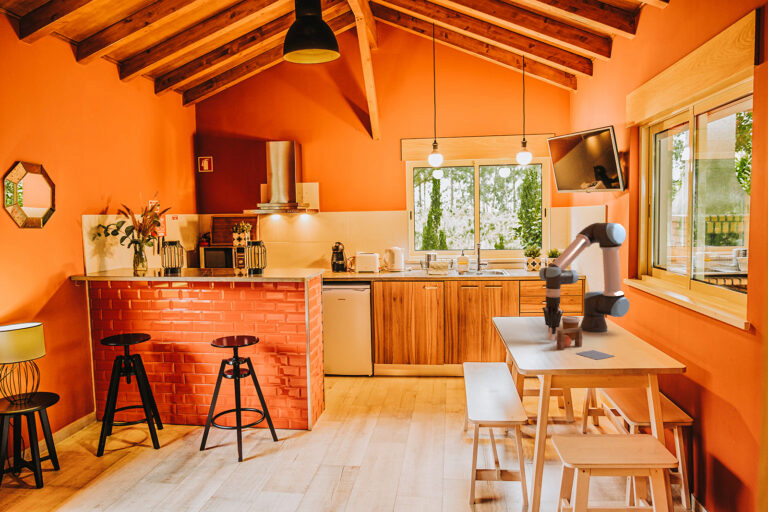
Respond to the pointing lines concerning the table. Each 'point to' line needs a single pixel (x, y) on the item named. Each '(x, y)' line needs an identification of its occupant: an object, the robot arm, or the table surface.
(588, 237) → the robot arm
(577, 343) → the bridge
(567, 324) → the disposable coffee cup
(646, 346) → the table surface
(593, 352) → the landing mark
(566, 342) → the ball
